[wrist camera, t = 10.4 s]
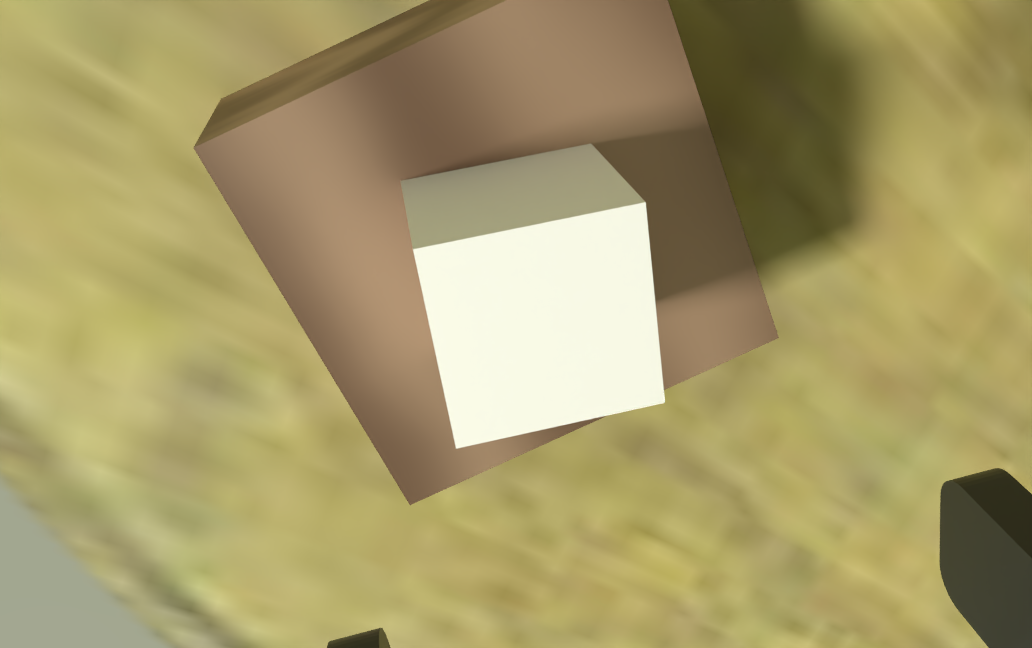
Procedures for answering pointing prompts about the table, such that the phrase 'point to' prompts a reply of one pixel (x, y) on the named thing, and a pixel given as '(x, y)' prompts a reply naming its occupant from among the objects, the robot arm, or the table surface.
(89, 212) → the table surface
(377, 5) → the table surface
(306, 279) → the walnut box
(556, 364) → the cube
